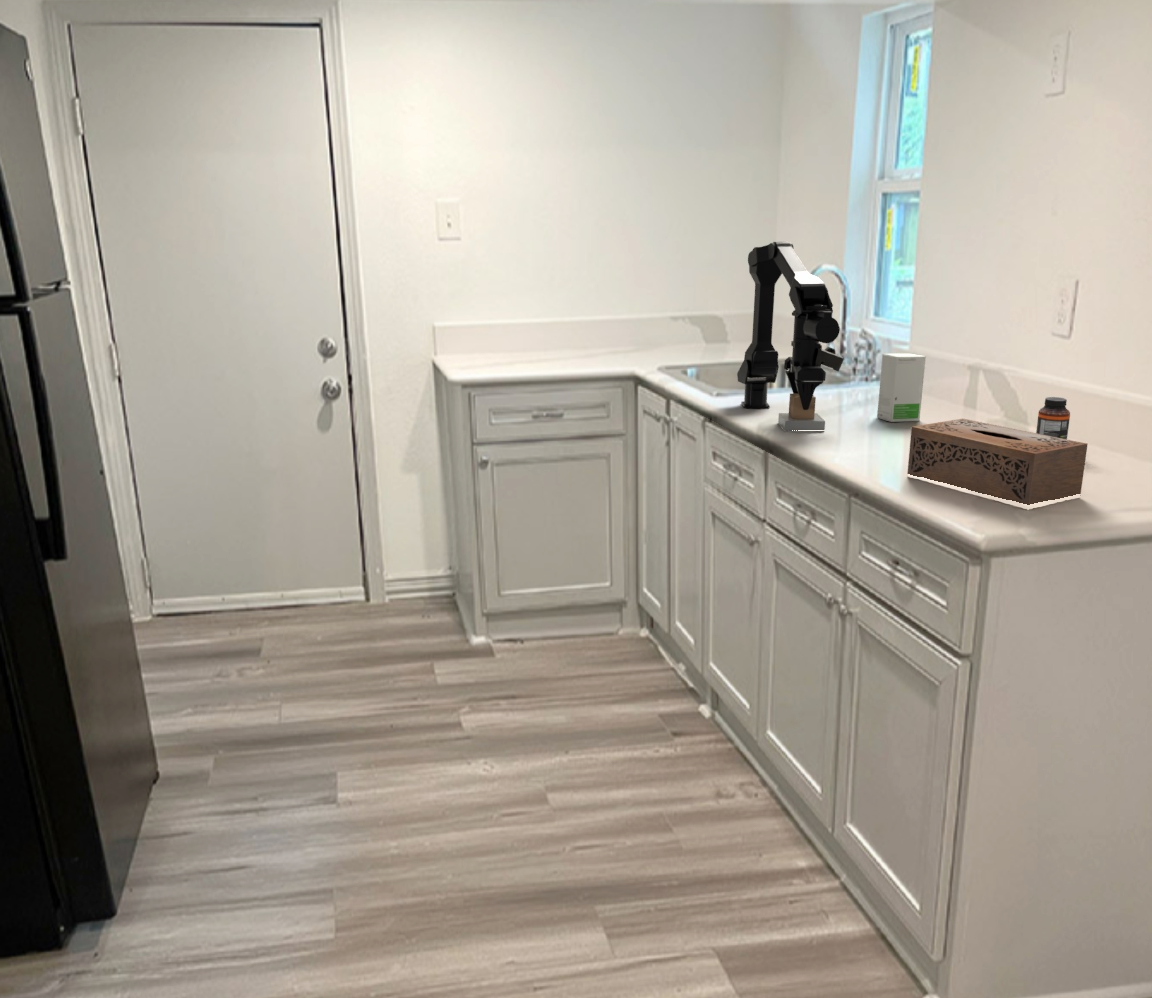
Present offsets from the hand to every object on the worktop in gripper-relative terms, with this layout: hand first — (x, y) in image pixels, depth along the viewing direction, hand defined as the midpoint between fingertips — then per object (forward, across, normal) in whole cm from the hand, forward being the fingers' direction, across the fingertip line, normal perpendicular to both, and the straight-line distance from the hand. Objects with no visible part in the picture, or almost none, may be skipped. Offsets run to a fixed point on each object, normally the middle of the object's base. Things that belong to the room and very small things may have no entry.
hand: (802, 406), depth 234 cm
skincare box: (+5, +10, -25) cm, 27 cm away
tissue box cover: (+5, -52, -25) cm, 58 cm away
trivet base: (+6, 0, 0) cm, 6 cm away
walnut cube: (+3, 0, 0) cm, 3 cm away
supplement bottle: (+5, -24, -47) cm, 53 cm away
